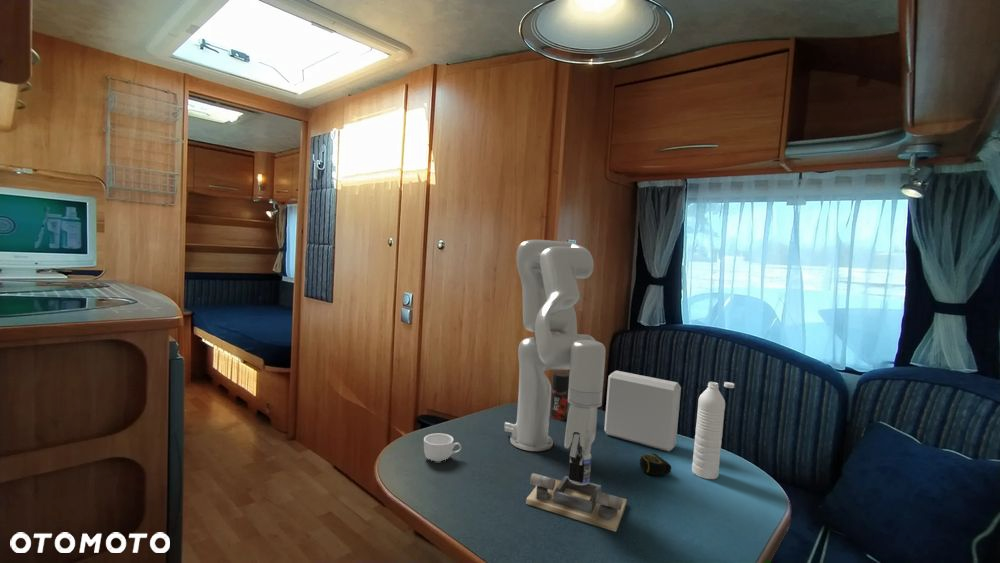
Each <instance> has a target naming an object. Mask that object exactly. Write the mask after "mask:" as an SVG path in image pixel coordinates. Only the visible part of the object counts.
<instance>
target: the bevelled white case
mask: <svg viewBox="0 0 1000 563" xmlns="http://www.w3.org/2000/svg"><path fill="white" fill-rule="evenodd" d="M606 390H607V391H606V401H605V402H606V405H605V415H604V429H603V430H604V432H605V434H606V436H611V437H614V438H619V439H621V440H625V441H628V442H633V443H635V444H640V445H643V446H646V447H650V448H653V449H658V450H661V451H665V452H670V451H672V450H673V449H674V448H675V446H676V444H677V438H678V437H677V436H678V423H679V412H680V403H681V402H680V401H681V393H682V391H681V390H682V387H681V385H680V383H679V382H677V381H671V380H666V379H661V378H658V377H657V378H656V377H651V376H646V375H640V374H635V373H631V372H625V371H620V370H614V371H613V372H611V373H610V374H609V375H608V379H607V389H606Z"/></svg>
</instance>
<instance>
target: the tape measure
mask: <svg viewBox="0 0 1000 563" xmlns="http://www.w3.org/2000/svg"><path fill="white" fill-rule="evenodd" d="M639 466H640V468H641V470H642V471H643V472H645V473H647V474H648V475H649V474H650V475H651V476H657V477H658V476H659V477H660V476H663V475H667V474H670V473H671V471H672V466H671V464H670V463H669V462H668V461H666V459H665V460H664V458H662V457H660V456H659V455H658V454H655V453H651V454H650V453H647V454H646V453H645V454H643V455H642V456H641V458H640V459H639Z"/></svg>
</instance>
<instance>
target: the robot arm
mask: <svg viewBox="0 0 1000 563" xmlns="http://www.w3.org/2000/svg"><path fill="white" fill-rule="evenodd" d="M594 265H595V263H594V259H593V256H592V254H591V252H590V251H589V249H587V248H586V247H584V246H581V245H579V244H577V243H575V242H571V241H562V240H561V241H559V240H548V239H529V240H528V239H527V240H524V241H522V242H521V243H520V244H519V245H518V248H517V251H516V268H517V272H518V275H519V278H520V281H521V288H522V294H521V296H522V323H523V327H524V328H525V330H526V331H528V332H532V333H534V336H531V337H526V338H524V339H522V340H521V341H520V342H519V345H518V349H517V353H518V354H517V356H518V366H519V368H518V370H519V378H518V398H517V399H518V400H517V412H516V414H517V415H516V423H511V422H507V421H505V422H504V424H503V425H504V426H503V428H504V432H508V433H511V435H510V437H509V438H510V440H509V442H510V444H512V446H514V447H515V448H518V449H520V450H524V451H527V452H543V451H547V450H550V449H551V448H552V447H553V445H554V443H553V438H552V437H551V436H549V426H550V425H549V424H550V408H551V394H552V384H551V383H552V382H551V381H550V380H549V378H548V376H547V375H546V374H545V371H565V370H566V371H567V370H569V373H568V374H569V388H568V404H569V406H568V411H567V418H566V426H565V432H564V433H565V435H564V443H563V444H564V445H563V446H564V448H565V449H569V448H570V447H571V448H570V453H569V464H570V465H569V466H568V477H569V479H570V480H573V481H576V482H580V483H582V482H583V479H584V465H585V464H583V460H584V453H585V452H586V451H587V450H588V448H589V447H590V446H591V447H590V454H591V452H592V444H593V442H594V441H595V439H596V434H597V422H598V408H600V407H601V406H602V405H603V392H604V391H603V389H604V378H605V367H606V366H605V365H606V353H607V352H606V350H607V349H606V347H605V345H604V343H602V342H600V341H597V340H596V339H595V338H594V337H593V336H592V335H589V334H586V333H585V334H584V333H582V334H581V333H580V334H579V333H578V322H577V319H578V318H577V314H576V310H575V308H574V306H575V305H576V304H577V303H578V302H579V300H580V296H581V295H580V290H579V286H578V282H577V279H579V280H580V279H581V280H582V279H585V280H586V279H588V278H589V277H591V276H592V274H593V271H594ZM578 447H582V450H581V449H578ZM577 452H578V453H581V456H579V455H578V454H577Z"/></svg>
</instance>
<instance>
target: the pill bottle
mask: <svg viewBox="0 0 1000 563" xmlns="http://www.w3.org/2000/svg"><path fill="white" fill-rule="evenodd" d="M590 447H591V448H592V445H591V446H590ZM590 447H589V448H588V450H587V451H586V452H585V453H584V460H583V464H585V465H584V479H583V482H582V483H580V482H576V481H573V480H570V479H569V481H570V482H571V483H573V484H576V485H586V484H588V483H589V482H591V481H590V479H591V467H592V454H591V453H590ZM578 449H581V450H582V447H578ZM577 454H578V455H579V456H581V453H578V452H577ZM569 465H570V463H569Z"/></svg>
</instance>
